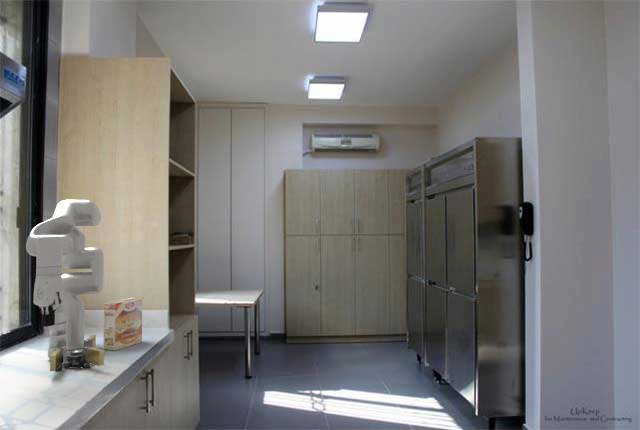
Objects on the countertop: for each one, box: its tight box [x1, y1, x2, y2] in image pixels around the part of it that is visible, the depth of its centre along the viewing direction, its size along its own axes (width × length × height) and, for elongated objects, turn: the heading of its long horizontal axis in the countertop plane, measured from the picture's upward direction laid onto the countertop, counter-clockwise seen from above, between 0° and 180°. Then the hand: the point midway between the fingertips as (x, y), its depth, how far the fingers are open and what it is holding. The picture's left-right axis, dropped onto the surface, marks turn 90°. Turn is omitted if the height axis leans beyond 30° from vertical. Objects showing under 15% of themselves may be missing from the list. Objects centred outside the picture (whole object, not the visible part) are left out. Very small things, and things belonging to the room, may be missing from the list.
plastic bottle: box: [47, 306, 69, 360], centre depth 166 cm, size 6×7×20 cm
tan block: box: [82, 346, 105, 370], centre depth 152 cm, size 11×3×8 cm, turn 57°
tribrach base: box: [62, 348, 83, 370], centre depth 157 cm, size 9×10×5 cm
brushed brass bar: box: [49, 348, 64, 372], centre depth 148 cm, size 11×3×8 cm, turn 21°
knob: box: [84, 334, 97, 348], centre depth 168 cm, size 11×3×8 cm, turn 17°
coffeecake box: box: [102, 297, 143, 351], centre depth 185 cm, size 15×7×20 cm, turn 158°
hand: (48, 325), depth 146 cm, fingers closed
